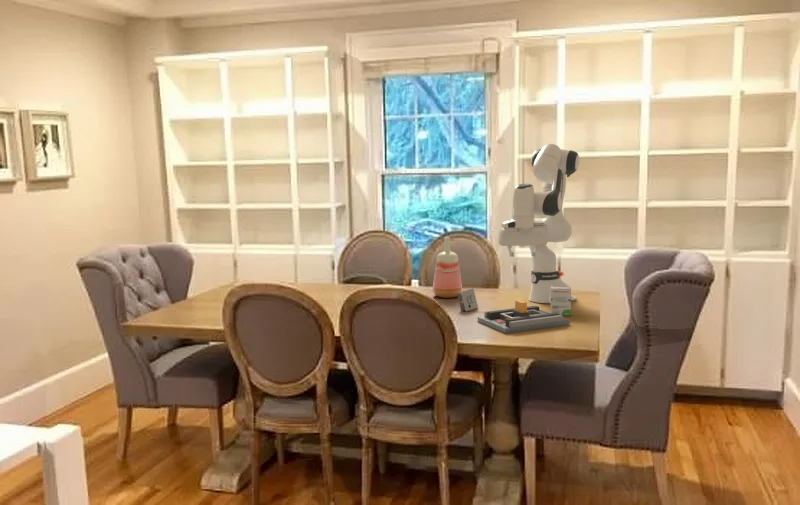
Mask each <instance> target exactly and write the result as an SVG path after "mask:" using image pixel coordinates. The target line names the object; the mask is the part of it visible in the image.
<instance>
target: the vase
mask: <svg viewBox="0 0 800 505" xmlns="http://www.w3.org/2000/svg"><path fill="white" fill-rule="evenodd" d="M443 240H444V243H443V244H444V245H443V247H444V248H443V251H441V252H439V253H438V254H437V255H436V261H435V268H434V276H433V283H432V292H433V294H434V295H435V296H436V297H439V298H443V299H449V298H450V299H451V298H456V297H457V298H458V296H457V294H459V293H461V291H463V286H462V285H463V284H462V277H461V270H460V263H459V256H458V254H457V253H456V252H454V251H451V237H450V236H444V239H443Z"/></svg>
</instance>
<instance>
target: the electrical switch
mask: <svg viewBox="0 0 800 505" xmlns="http://www.w3.org/2000/svg"><path fill="white" fill-rule="evenodd" d="M457 301H458V304H459V308H460V311H461V312H463V311H465V312H469V311H473V310H475V309H478V308H479V305H478V302H477V297H476V294H475V290H474V288H471V287H470V288H468V289H465V290H464V289H463V290H462V291H461V293H459V294H457Z"/></svg>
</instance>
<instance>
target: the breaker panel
mask: <svg viewBox="0 0 800 505" xmlns="http://www.w3.org/2000/svg"><path fill="white" fill-rule="evenodd" d="M527 311H528V312H529V315H527V316H534V315H541V314H549V313H550V312H547V311H544V310H541V309H539V311H537V310H534V309H533V310H527ZM519 317H526V316H519ZM510 318H518V317H513V312H509V313H501V314H500V317H499V318H491V319H490V318H487V317H485V316H484V315H483V316H482V315H481V316H477V322H478V323H479V324H482V325H485V326H487V327H488V328H489V327H490V328H492V329H494V330H496V331H498V332H500V333H503V334H515V333H522V332H528V331H536V330H542V329H549V328H556V327H565V326H571V320H570V319H568V318H564V317H563V321H557V322H550V323H543V324H535V325H528V326H520V327H513V328H511V327H509V326H507V325H506V319H510Z"/></svg>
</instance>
